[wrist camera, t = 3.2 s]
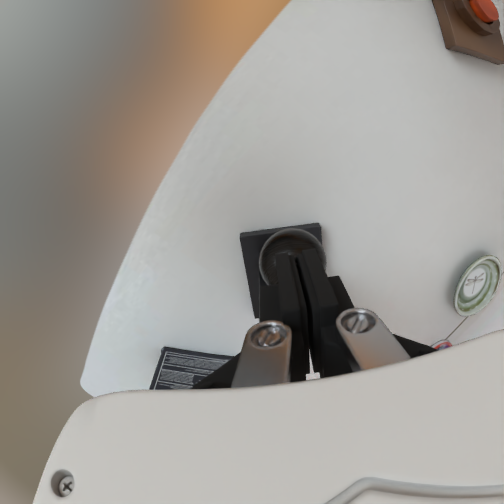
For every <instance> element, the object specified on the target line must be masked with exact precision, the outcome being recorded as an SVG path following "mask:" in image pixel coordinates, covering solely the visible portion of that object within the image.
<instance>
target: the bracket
mask: <svg viewBox="0 0 504 504" xmlns="http://www.w3.org/2000/svg"><path fill="white" fill-rule="evenodd" d="M291 228H294V229H301V230H304V231H307V232H309V233H310V234H312V235H313V236H315V237H316V238H317V239H318V241H319V242H320V243H321V245H322V236H321V226H320V225H319V223H313V224H305V225H298V226H290V227H282V228H275V229H267V230H260V231H253V232H245V233H240V242H241V247H242V252H243V258H244V263H245V269H246V274H247V279H248V285H249V290H250V295H251V301H252V306H253V311H254V316H255V318H259V323H260V286H267V284H266V282H265V281H264V279H263V277H262V275H261V272H260V268H259V257H260V253H261V250H262V247H263V246H264V244H265V242H266V241H267V240H268V239H269V238H270V237H271V236H272V235H274V234H275V233H277V232H279V231H281V230H284V229H291Z"/></svg>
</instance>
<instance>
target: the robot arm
mask: <svg viewBox="0 0 504 504" xmlns="http://www.w3.org/2000/svg"><path fill="white" fill-rule="evenodd" d="M297 259H298V270H299V275H298V271H297V267H296V263H295V259H294V255H288V252H284V253H276V254H275V260H276V268H277V276H278V284H275V285H267V286H260V323H257V324H256V325H254V326H252V327H251V328H250V329H249V330H248V332H247V334H246V336H245V340H244V343H243V347H242V350H241V352H240V353H239V354H237V355H236V356H235V357H233V358H232V359H231V360H229V361H228V362H226V363H225V364H224V365H222V366H221V367H219V368H218V369H217V370H215V371H214V372H212V373H211V374H209V375H208V376H207V377H205V378H204V379H202V380H201V381H199V382H198V383H196V384H195V385H194V386H193V387H192V388H191V389H177V390H128V391H121V392H113V393H109V394H105V395H101V396H98V397H95V398H92V399H90V400H88V401H86V402H84V403H83V404H81V405H80V406H79V407H78V408H77V409H76V410H75V411H74V412H73V414H72V415H71V416H70V418H69V419H68V421H67V423H66V424H65V426H64V428H63V429H62V431H61V433H60V435H59V437H58V439H57V441H56V443H55V446H54V448H53V450H52V452H51V454H50V457H49V459H48V461H47V464H46V467H45V469H44V472H43V475H42V478H41V480H40V483H39V486H38V489H37V493H36V495H35V499H34V502H33V504H504V329H503V330H499V331H495V332H491V333H488V334H486V335H483V336H480V337H477V338H474V339H471V340H468V341H465V342H462V343H460V344H457V345H454V346H451V347H448V348H445V349H442V350H437V349H435V348H433V347H430V346H427V345H424V344H421V343H418V342H415V341H412V340H409V339H406V338H403V337H400V336H398V335H395V334H392V333H391V332H390V330H389V329H388V328H387V327H386V325H385V324H384V323H383V322H382V320H381V319H380V318H379V317H378V315H376V314H375V313H374V312H372V311H370V310H368V309H364V308H354V306H353V304H352V301H351V299H350V297H349V295H348V293H347V291H346V289H345V287H344V285H343V283H342V281H341V279H340V277H339V276H333V277H327V274H326V272H325V270H324V267H323V265H322V263H321V261H320V258H319V256H318V254H317V251H316V249H315V248H314V249H306V250H302V254H297ZM309 349H310V354H311V359H312V365H313V370H314V373H316V372H319V373H320V379H313V380H306V374H309V373H310V362H309Z"/></svg>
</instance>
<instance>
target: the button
mask: <svg viewBox="0 0 504 504" xmlns="http://www.w3.org/2000/svg"><path fill="white" fill-rule="evenodd" d="M469 3H470V6H471V8H472V10H473V11H474V13H475V14H476V16H477V17H478V18H480V19H481V20H482V21H483V22H486V23H488V22H492V21H496V20H498V17H499V16H498V11H497V9H496V7H495V5H494V4H493V2H492V1H491V0H469Z"/></svg>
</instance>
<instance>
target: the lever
mask: <svg viewBox="0 0 504 504" xmlns="http://www.w3.org/2000/svg"><path fill="white" fill-rule="evenodd" d="M314 248H315V249H316V251H317V254H318V256H319V258H320V261H321V263H322V265H323V267H324V270H326V255H325V251H324V249H323V247H322V245H321V243H320V242H319V241H318V239H317V238H316V237H315V236H313V235H312V234H310V233H309V232H307V231H304V230H301V229H294V228H291V229H284V230H281V231H279V232H277V233H275V234H274V235H272V236H271V237H270V238H269V239H268V240H267V241H266V242H265V244H264V246H263V247H262V250H261V253H260V257H259V268H260V272H261V275H262V277H263V279H264V281H265V282H266V284H267V285H275V284H278V276H277V268H276V260H275V254H276V253H284V252H288V255H294V259H295V263H296V267H297V271H298V275H299V270H298V259H297V254H302V250H306V249H314Z"/></svg>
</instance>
